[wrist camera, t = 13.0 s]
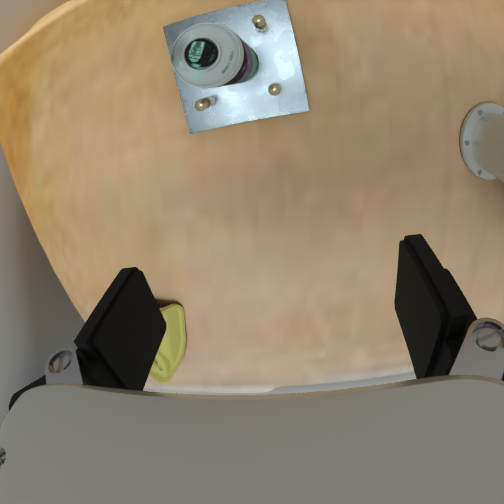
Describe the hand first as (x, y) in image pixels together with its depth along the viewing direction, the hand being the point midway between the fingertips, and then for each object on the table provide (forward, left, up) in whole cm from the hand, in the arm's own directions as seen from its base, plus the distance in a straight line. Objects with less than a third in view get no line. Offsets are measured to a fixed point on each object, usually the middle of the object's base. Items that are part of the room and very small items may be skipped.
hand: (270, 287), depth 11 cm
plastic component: (+32, +35, -35) cm, 58 cm away
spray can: (+4, -10, -33) cm, 34 cm away
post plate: (+4, -10, -34) cm, 36 cm away
